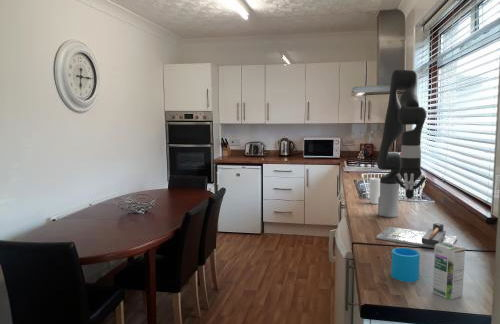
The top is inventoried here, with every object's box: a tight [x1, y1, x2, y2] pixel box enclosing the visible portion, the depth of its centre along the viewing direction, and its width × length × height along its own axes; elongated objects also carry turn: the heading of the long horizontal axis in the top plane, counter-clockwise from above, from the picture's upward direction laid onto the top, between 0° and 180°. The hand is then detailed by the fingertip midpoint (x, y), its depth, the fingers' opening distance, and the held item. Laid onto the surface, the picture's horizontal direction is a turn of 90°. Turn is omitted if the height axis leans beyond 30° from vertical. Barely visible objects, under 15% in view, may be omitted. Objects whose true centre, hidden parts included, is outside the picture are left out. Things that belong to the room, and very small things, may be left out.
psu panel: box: [375, 226, 458, 249], centre depth 161 cm, size 28×18×1 cm, turn 55°
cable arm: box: [422, 222, 446, 245], centre depth 157 cm, size 19×6×4 cm, turn 145°
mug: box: [390, 247, 421, 283], centre depth 124 cm, size 12×8×8 cm
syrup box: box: [432, 242, 466, 301], centre depth 109 cm, size 6×6×14 cm
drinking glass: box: [368, 177, 381, 205], centre depth 229 cm, size 7×7×15 cm
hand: (409, 198), depth 158 cm, fingers closed
